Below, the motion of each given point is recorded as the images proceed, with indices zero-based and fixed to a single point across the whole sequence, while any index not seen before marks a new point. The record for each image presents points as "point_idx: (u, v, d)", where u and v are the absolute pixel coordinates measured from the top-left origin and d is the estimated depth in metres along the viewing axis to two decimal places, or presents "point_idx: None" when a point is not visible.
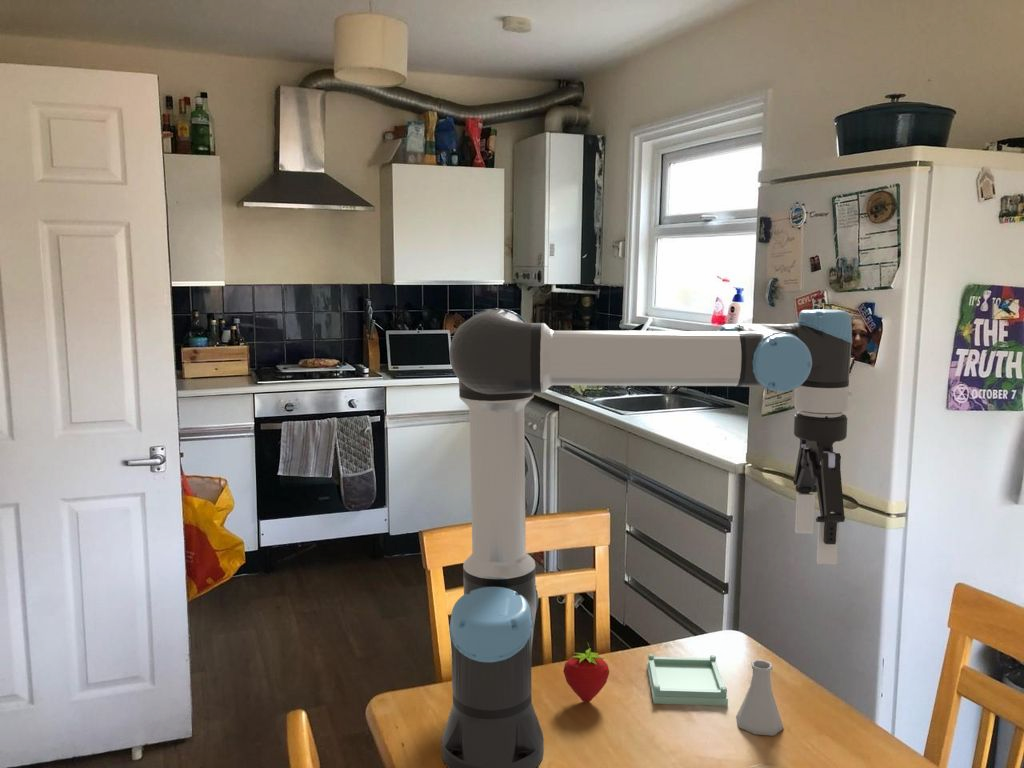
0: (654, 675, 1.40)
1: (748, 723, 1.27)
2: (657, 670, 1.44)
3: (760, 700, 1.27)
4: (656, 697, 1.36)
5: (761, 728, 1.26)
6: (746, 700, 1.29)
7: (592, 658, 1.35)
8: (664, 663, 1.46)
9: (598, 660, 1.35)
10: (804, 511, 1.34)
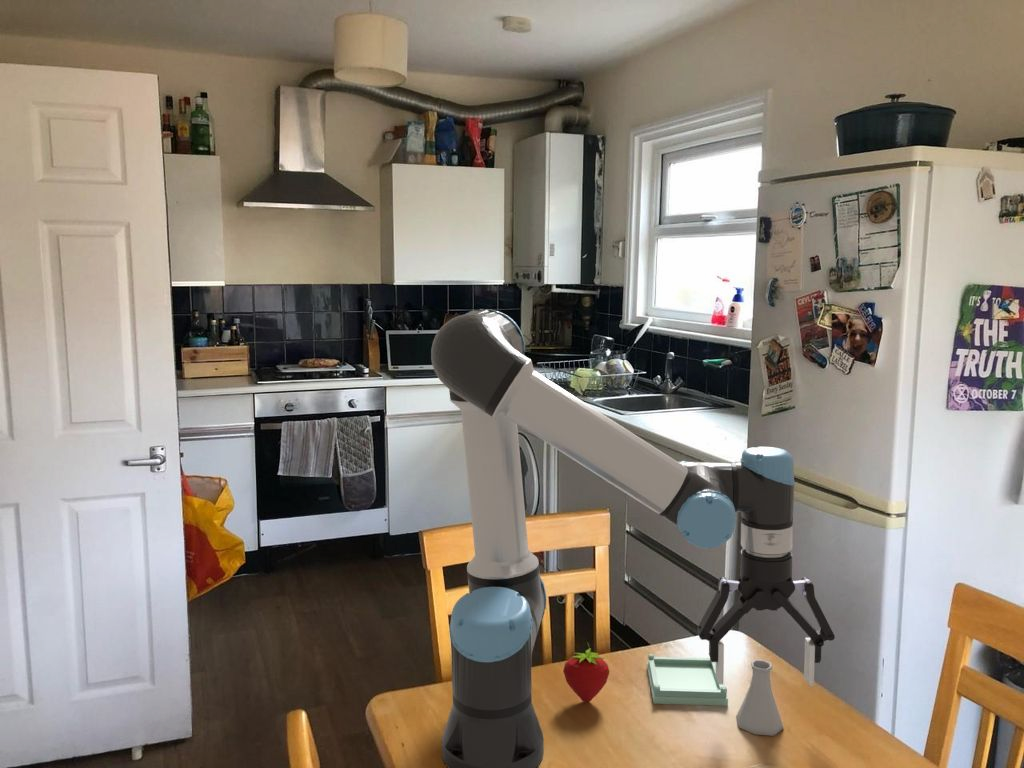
0: (654, 675, 1.40)
1: (748, 723, 1.27)
2: (657, 670, 1.44)
3: (760, 700, 1.27)
4: (656, 697, 1.36)
5: (761, 728, 1.26)
6: (746, 700, 1.29)
7: (592, 658, 1.35)
8: (664, 663, 1.46)
9: (598, 660, 1.35)
10: (806, 658, 1.28)
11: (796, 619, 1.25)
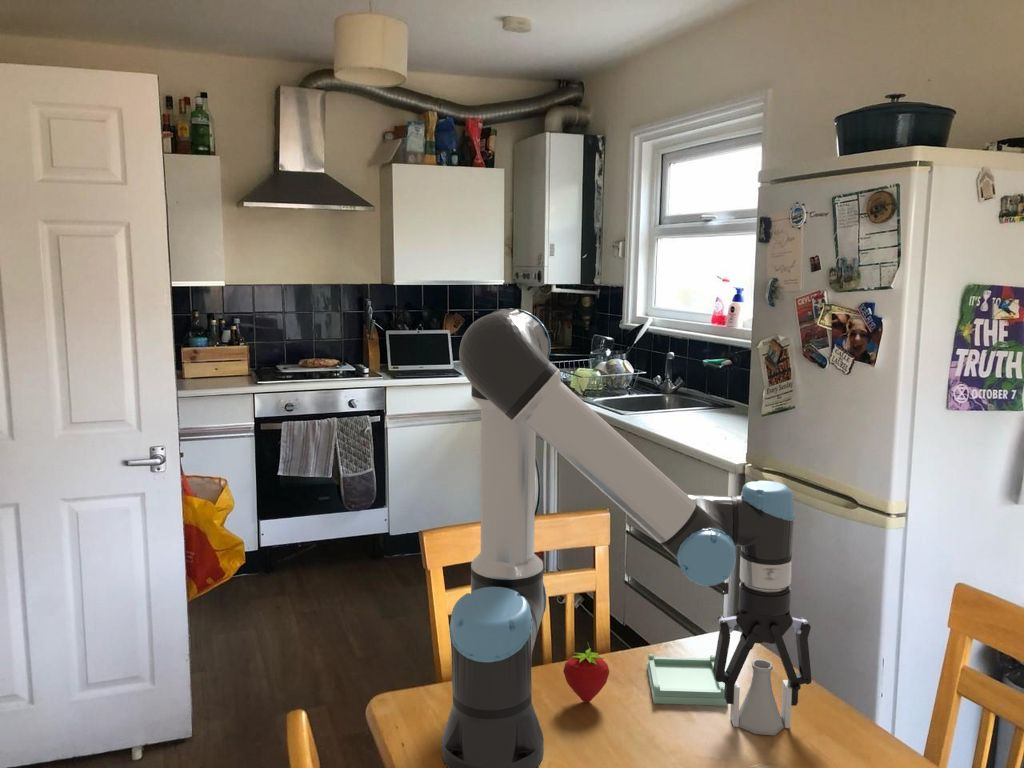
0: (654, 675, 1.40)
1: (749, 723, 1.27)
2: (657, 670, 1.44)
3: (760, 700, 1.27)
4: (656, 697, 1.36)
5: (762, 728, 1.26)
6: (746, 700, 1.29)
7: (592, 658, 1.35)
8: (664, 663, 1.46)
9: (598, 660, 1.35)
10: (783, 700, 1.29)
11: (783, 657, 1.26)
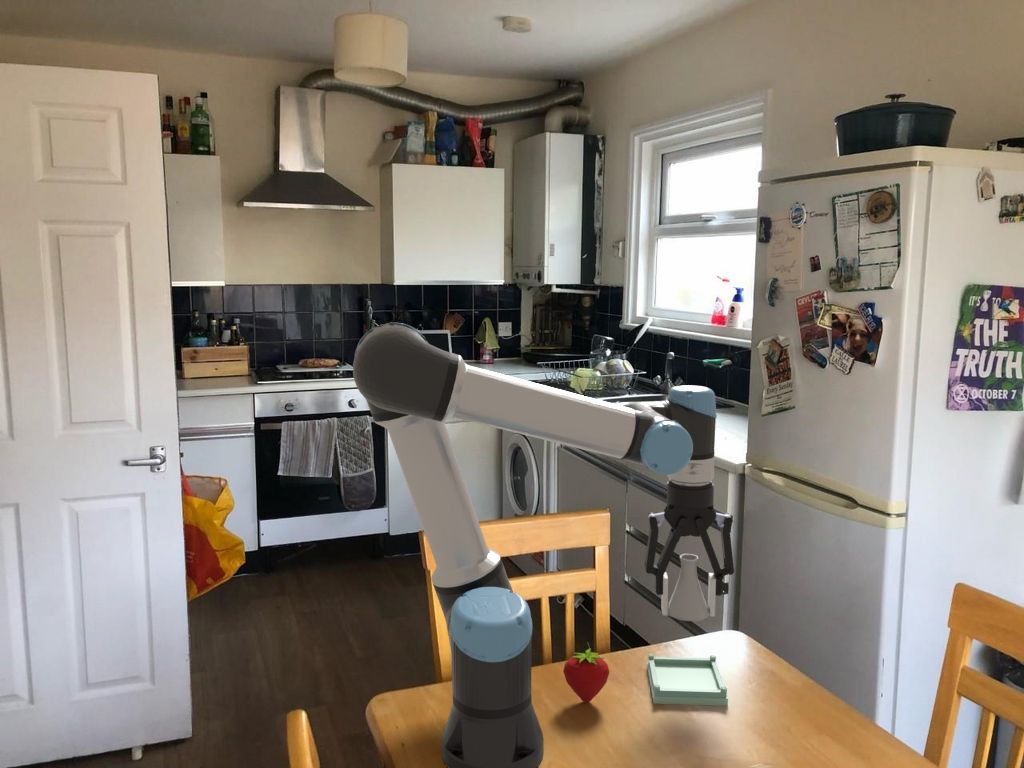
0: (654, 675, 1.40)
1: (676, 611, 1.37)
2: (657, 670, 1.44)
3: (687, 589, 1.37)
4: (656, 697, 1.36)
5: (688, 615, 1.36)
6: (675, 591, 1.38)
7: (592, 658, 1.35)
8: (664, 663, 1.46)
9: (598, 660, 1.35)
10: (709, 591, 1.39)
11: (707, 549, 1.36)
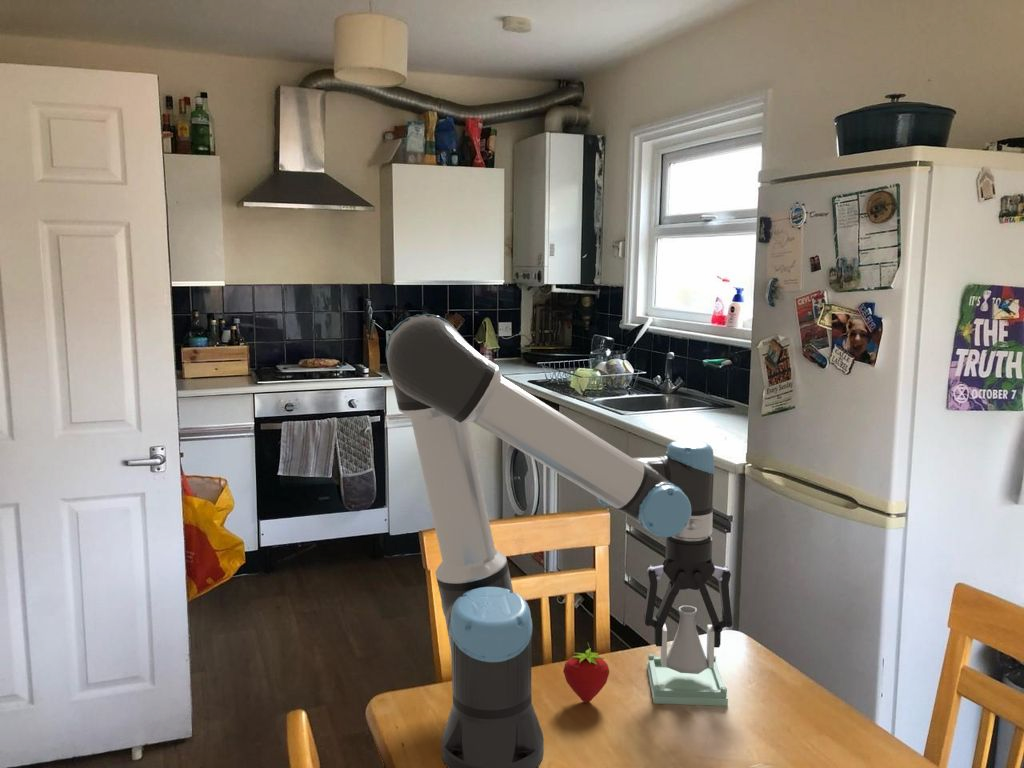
0: (654, 675, 1.40)
1: (675, 663, 1.38)
2: (657, 670, 1.44)
3: (686, 642, 1.38)
4: (656, 697, 1.36)
5: (686, 667, 1.37)
6: (674, 642, 1.40)
7: (592, 658, 1.35)
8: None
9: (598, 660, 1.35)
10: (708, 643, 1.40)
11: (706, 602, 1.37)
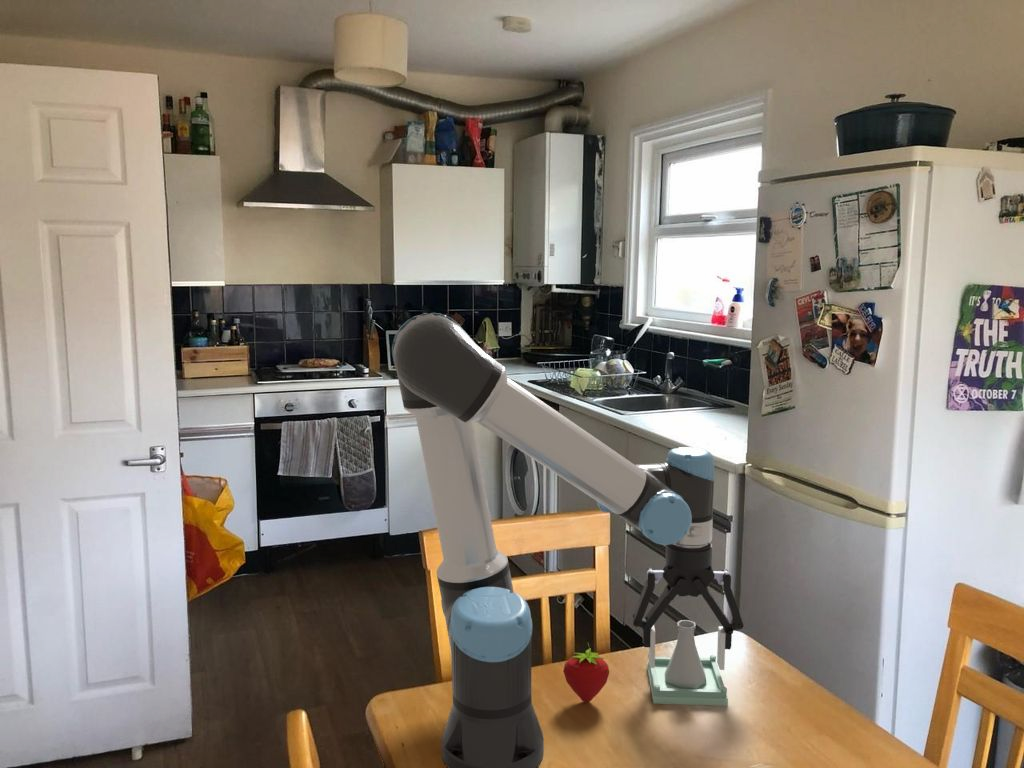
0: (654, 675, 1.40)
1: (674, 678, 1.39)
2: (657, 670, 1.44)
3: (685, 656, 1.38)
4: (656, 697, 1.36)
5: (685, 682, 1.38)
6: (673, 657, 1.40)
7: (592, 658, 1.35)
8: (664, 663, 1.46)
9: (598, 660, 1.35)
10: (718, 644, 1.40)
11: (711, 607, 1.37)
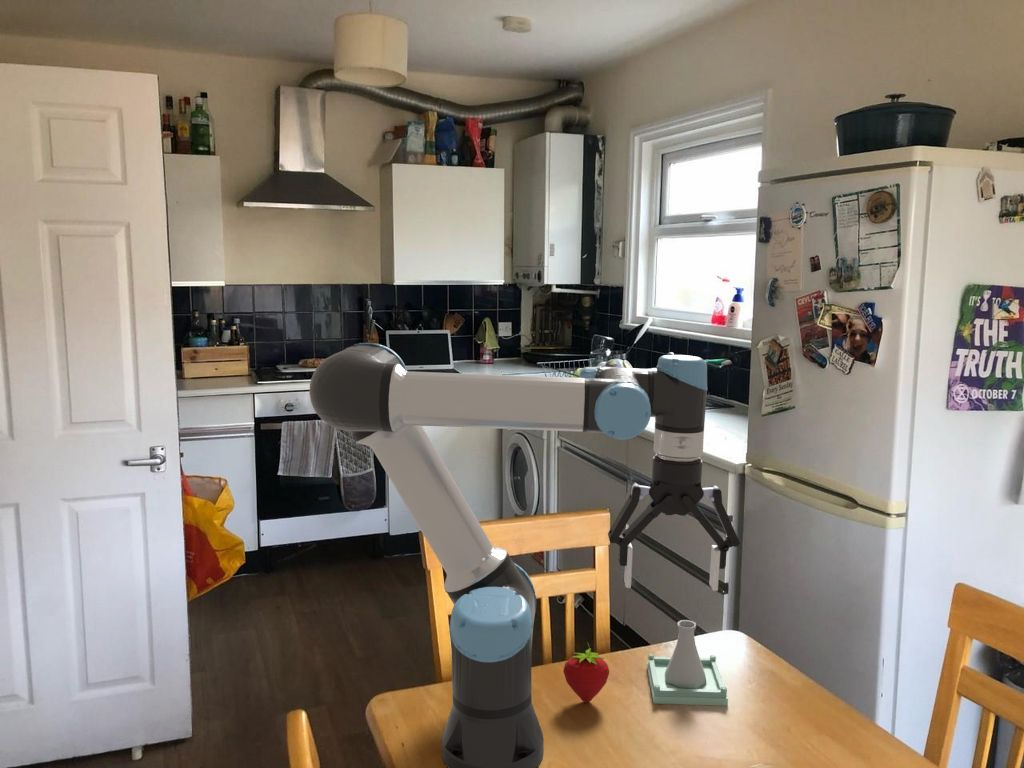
0: (654, 675, 1.40)
1: (674, 678, 1.39)
2: (657, 670, 1.44)
3: (685, 656, 1.39)
4: (656, 697, 1.36)
5: (686, 682, 1.38)
6: (673, 657, 1.40)
7: (592, 658, 1.35)
8: (664, 663, 1.46)
9: (598, 660, 1.35)
10: (712, 564, 1.31)
11: (703, 524, 1.28)
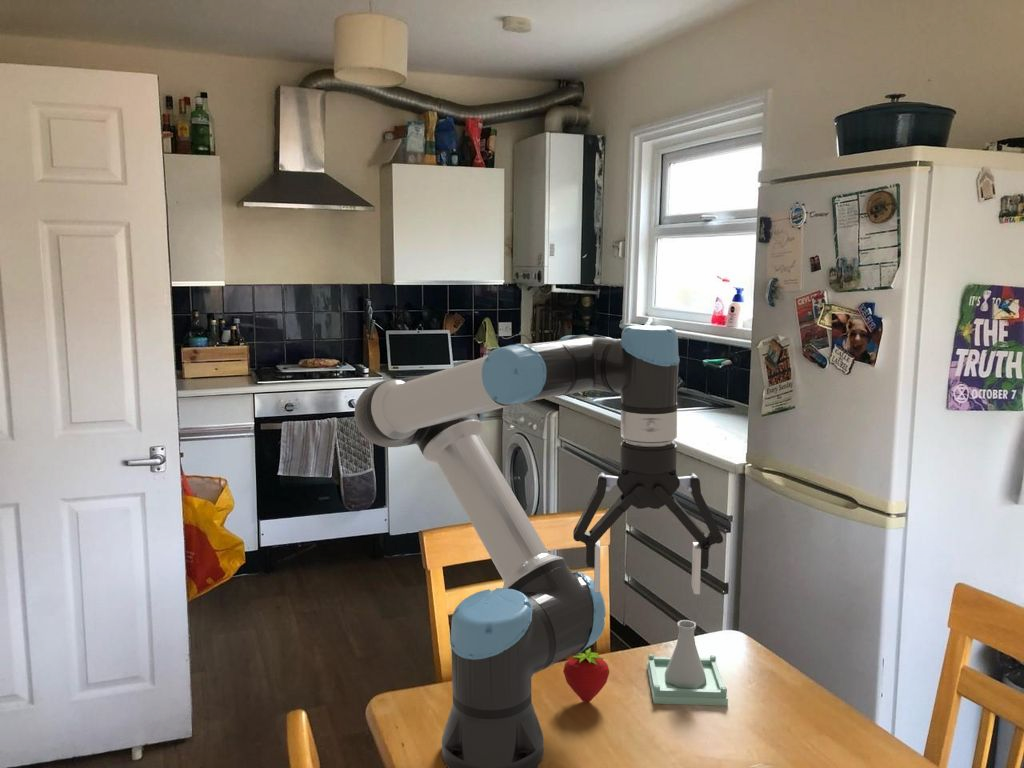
0: (654, 675, 1.40)
1: (674, 678, 1.39)
2: (657, 670, 1.44)
3: (685, 656, 1.39)
4: (656, 697, 1.36)
5: (686, 682, 1.38)
6: (673, 657, 1.40)
7: (592, 658, 1.35)
8: (664, 663, 1.46)
9: (598, 660, 1.35)
10: (693, 564, 1.14)
11: (680, 519, 1.12)
